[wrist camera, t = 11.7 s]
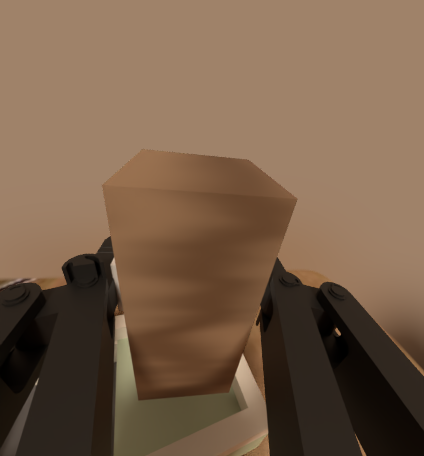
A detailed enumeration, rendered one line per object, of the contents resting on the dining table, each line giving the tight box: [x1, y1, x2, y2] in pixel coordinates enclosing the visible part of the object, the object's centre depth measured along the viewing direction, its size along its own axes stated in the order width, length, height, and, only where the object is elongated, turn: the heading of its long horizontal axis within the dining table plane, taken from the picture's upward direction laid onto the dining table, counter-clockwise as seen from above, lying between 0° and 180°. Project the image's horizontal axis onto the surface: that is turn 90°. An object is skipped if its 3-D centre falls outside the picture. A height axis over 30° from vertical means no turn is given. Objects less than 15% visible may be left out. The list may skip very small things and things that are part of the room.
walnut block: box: [102, 149, 297, 401], centre depth 10 cm, size 5×5×12 cm
